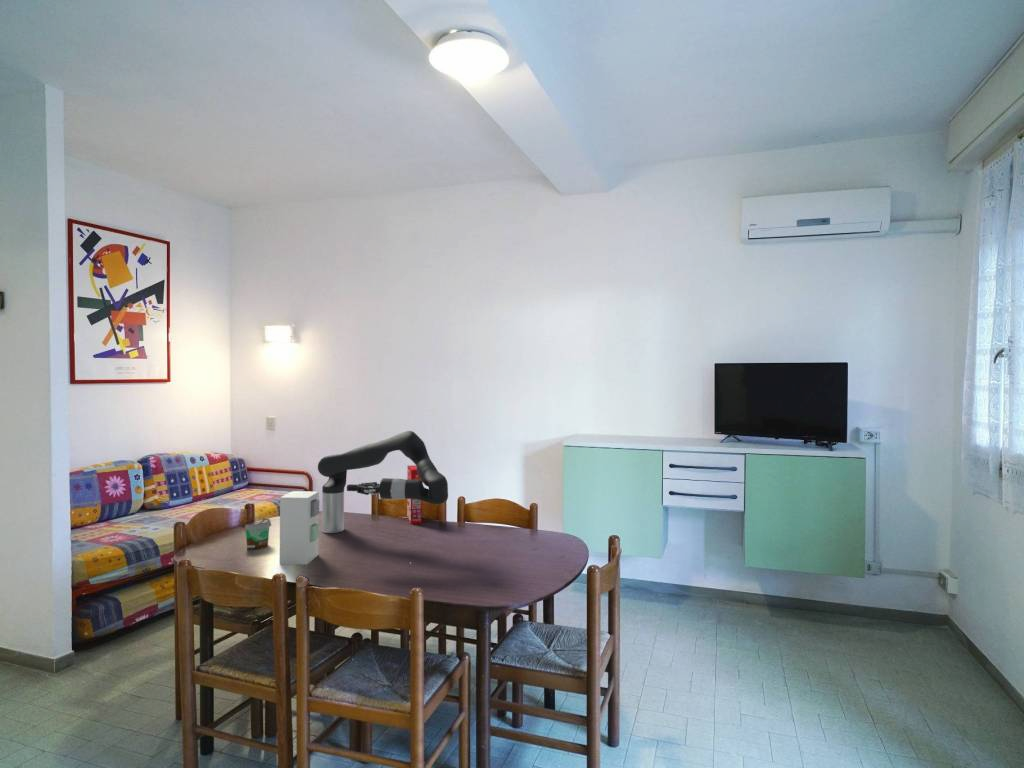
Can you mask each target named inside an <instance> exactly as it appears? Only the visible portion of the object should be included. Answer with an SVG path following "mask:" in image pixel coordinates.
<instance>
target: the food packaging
mask: <svg viewBox="0 0 1024 768" xmlns="http://www.w3.org/2000/svg"><path fill="white" fill-rule="evenodd" d="M406 470H407V473H406V475H407V476H406V477H407V478H406V480H420V481H421V482H422V480H421V478H420V477H419V475H418V472H417V466H416V464H414V465H407V469H406ZM422 484H423V485H424V483H423V482H422ZM406 518H407V520H408V521H409V523H410V525H417V524H418V525H419V524H423V501H421V500H418V499H406Z"/></svg>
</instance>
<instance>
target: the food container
mask: <svg viewBox="0 0 1024 768" xmlns="http://www.w3.org/2000/svg"><path fill="white" fill-rule="evenodd" d="M271 527H272V521H271V520H270V518H265V517H263V518H262V520H261V521H257V522H256V521H255V522H253V523H252V524H251V523H250V524H245V526H244V530H245V533H246V534H245V535H246V536H245V537H246V550H251V551H252V550H262V549H265V548H267V547H268V546H269V537H270V536H269V535H270V528H271Z"/></svg>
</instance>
